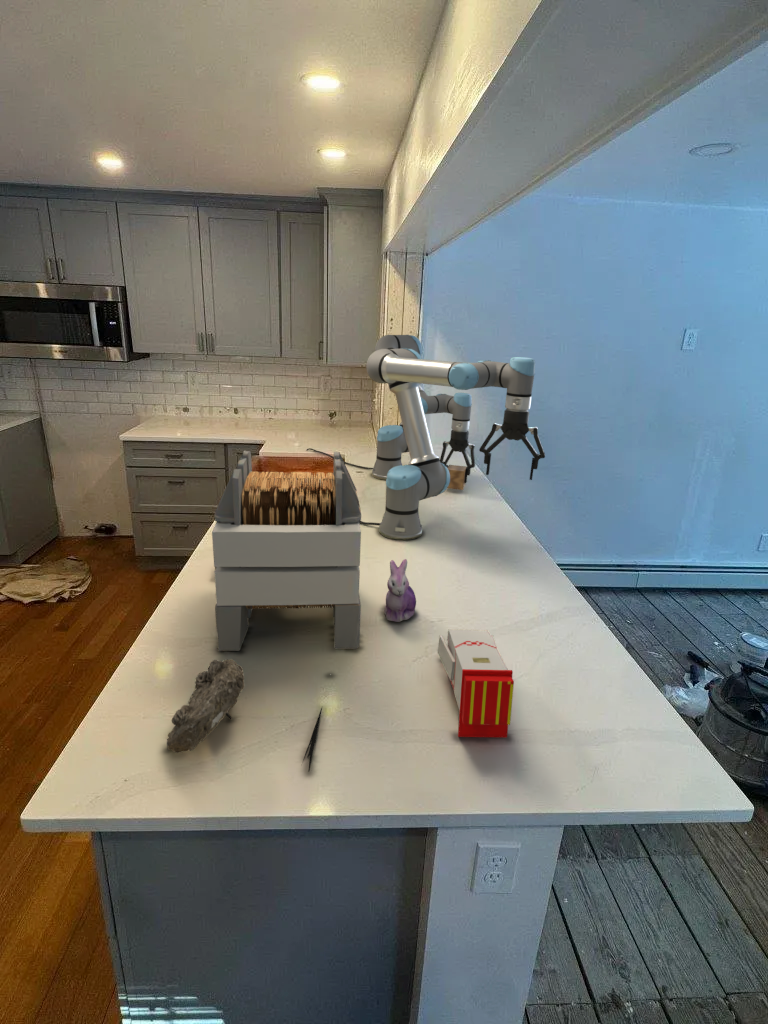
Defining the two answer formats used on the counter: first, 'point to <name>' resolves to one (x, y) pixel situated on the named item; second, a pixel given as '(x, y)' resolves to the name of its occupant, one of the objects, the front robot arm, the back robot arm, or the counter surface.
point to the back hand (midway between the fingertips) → (455, 481)
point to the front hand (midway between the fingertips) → (509, 476)
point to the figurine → (399, 594)
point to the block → (457, 477)
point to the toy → (478, 682)
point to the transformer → (287, 549)
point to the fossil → (206, 705)
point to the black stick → (313, 740)
